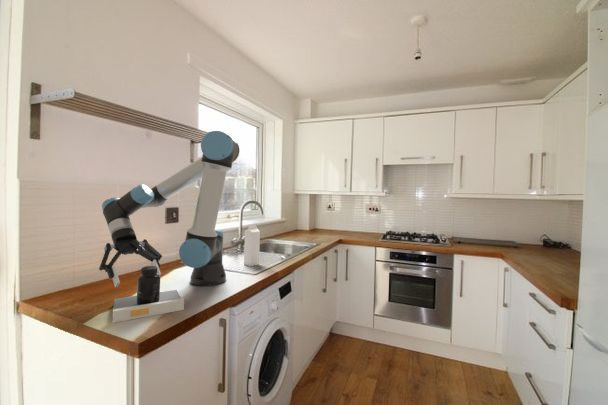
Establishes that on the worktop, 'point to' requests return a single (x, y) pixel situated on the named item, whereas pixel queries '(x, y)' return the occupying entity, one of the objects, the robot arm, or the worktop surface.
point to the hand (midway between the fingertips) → (139, 280)
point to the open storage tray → (146, 306)
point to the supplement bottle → (148, 286)
